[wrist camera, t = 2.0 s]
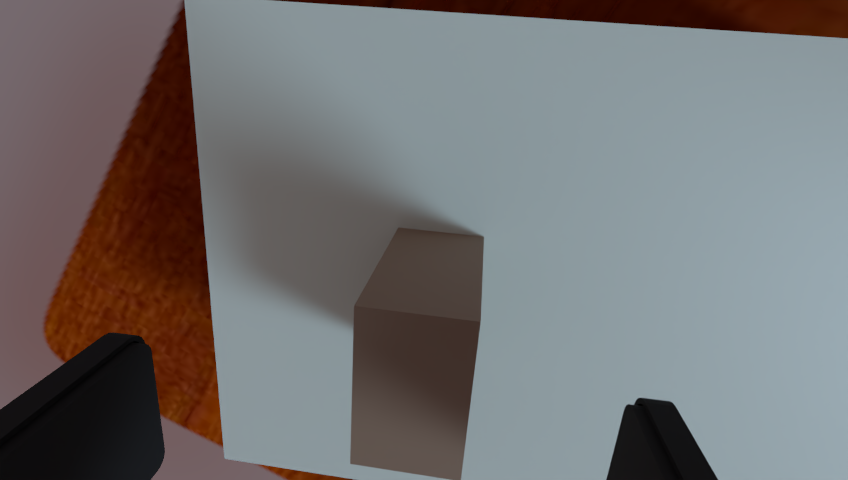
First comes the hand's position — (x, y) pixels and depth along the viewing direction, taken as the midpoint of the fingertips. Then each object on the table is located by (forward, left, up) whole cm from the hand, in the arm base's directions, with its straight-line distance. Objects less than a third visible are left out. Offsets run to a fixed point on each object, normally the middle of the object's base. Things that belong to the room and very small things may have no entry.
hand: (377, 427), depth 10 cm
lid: (-4, 0, -7) cm, 7 cm away
